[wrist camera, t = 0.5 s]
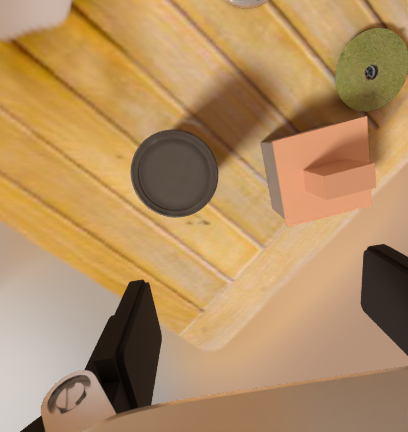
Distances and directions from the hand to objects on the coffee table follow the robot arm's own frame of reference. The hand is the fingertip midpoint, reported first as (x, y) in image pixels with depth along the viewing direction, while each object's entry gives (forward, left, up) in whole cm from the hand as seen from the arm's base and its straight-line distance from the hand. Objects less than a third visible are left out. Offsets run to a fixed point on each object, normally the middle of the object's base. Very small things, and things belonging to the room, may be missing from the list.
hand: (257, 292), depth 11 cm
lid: (+3, +16, -26) cm, 30 cm away
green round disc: (-9, +28, -34) cm, 45 cm away
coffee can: (-3, -4, -34) cm, 35 cm away
